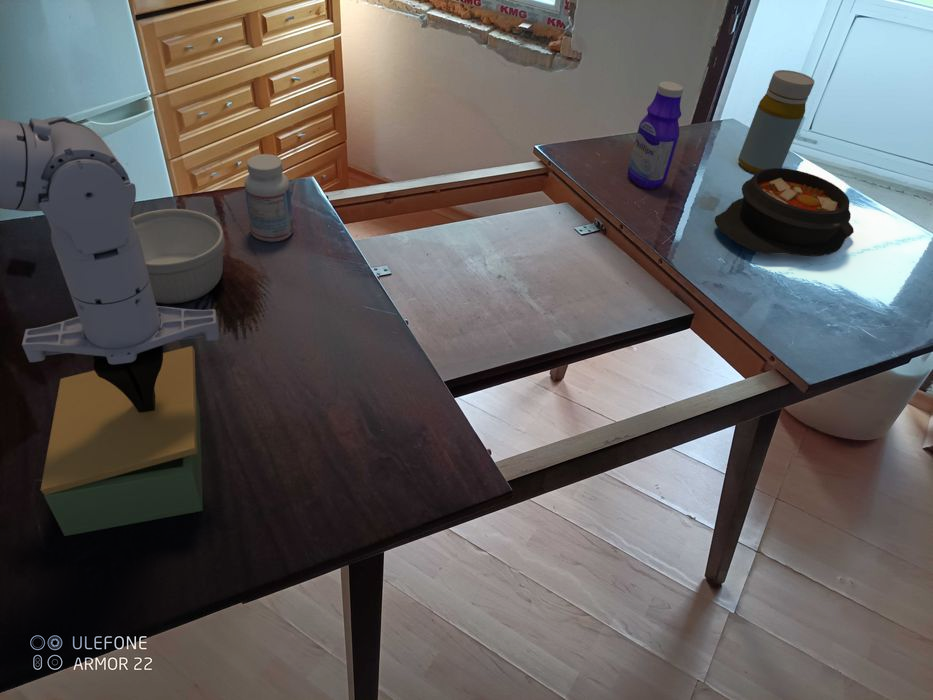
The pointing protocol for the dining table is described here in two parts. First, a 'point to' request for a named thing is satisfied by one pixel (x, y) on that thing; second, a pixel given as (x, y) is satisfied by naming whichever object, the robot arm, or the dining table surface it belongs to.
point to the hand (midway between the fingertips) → (147, 403)
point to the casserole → (788, 214)
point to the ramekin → (180, 253)
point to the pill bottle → (268, 199)
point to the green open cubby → (132, 495)
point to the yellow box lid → (120, 426)
